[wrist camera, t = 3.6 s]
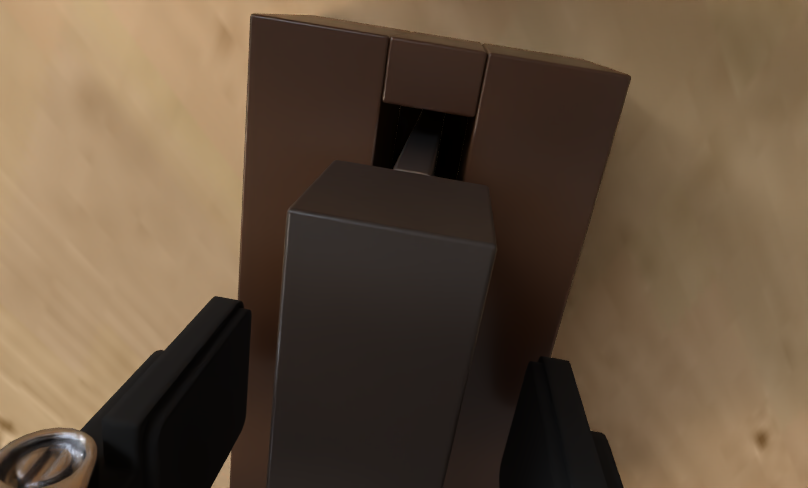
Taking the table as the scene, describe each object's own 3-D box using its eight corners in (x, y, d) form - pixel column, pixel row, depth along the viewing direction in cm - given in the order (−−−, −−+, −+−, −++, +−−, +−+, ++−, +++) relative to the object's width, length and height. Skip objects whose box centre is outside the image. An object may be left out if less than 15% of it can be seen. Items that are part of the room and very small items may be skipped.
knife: (390, 99, 15) (285, 208, 6) (479, 114, 15) (498, 245, 6) (348, 404, 19) (246, 739, 10) (420, 418, 19) (379, 767, 10)
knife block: (311, 15, 15) (249, 13, 10) (584, 59, 14) (633, 75, 10) (277, 433, 20) (226, 545, 15) (478, 472, 19) (482, 596, 15)
